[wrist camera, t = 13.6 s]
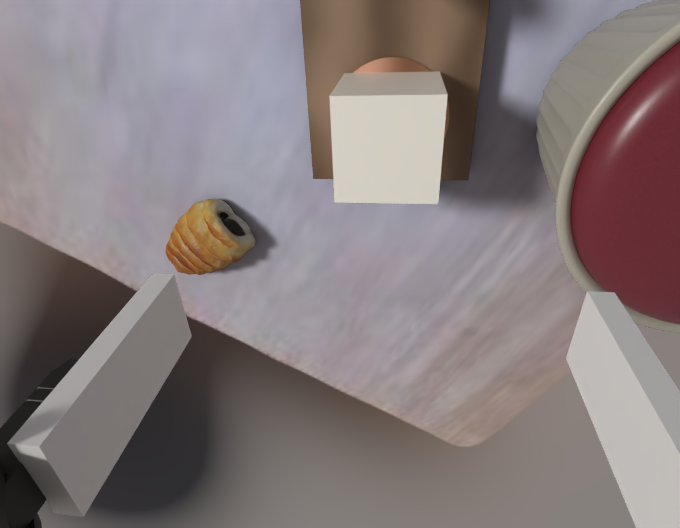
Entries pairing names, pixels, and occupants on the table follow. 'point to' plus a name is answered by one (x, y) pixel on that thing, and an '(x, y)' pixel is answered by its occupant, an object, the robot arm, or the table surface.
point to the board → (395, 62)
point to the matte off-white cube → (388, 137)
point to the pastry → (208, 238)
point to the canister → (620, 160)
